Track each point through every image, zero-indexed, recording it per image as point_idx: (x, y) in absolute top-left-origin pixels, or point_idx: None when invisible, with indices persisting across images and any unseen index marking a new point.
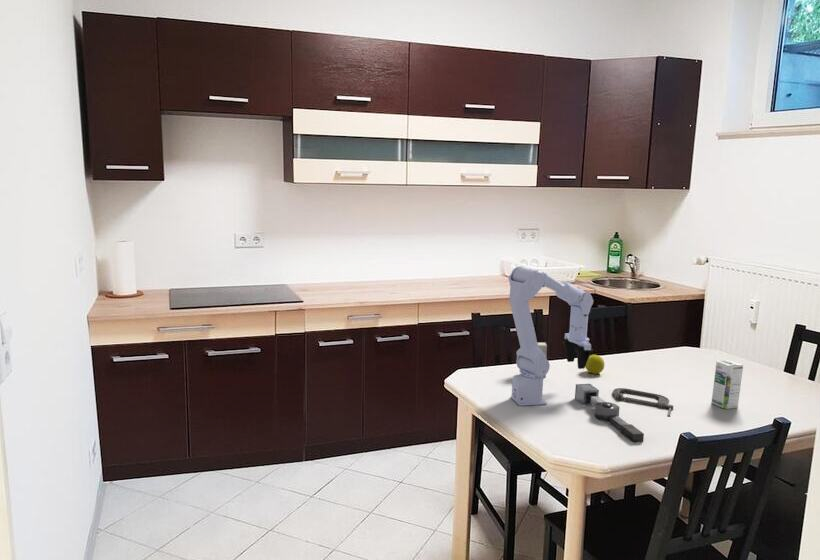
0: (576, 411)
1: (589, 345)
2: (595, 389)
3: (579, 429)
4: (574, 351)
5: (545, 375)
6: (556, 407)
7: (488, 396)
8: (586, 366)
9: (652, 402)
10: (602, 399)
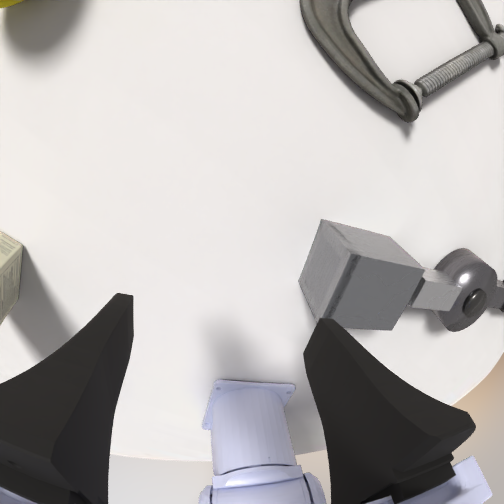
0: (379, 334)
1: (477, 496)
2: (413, 280)
3: (432, 367)
4: (100, 365)
5: (19, 251)
6: None
7: (181, 446)
8: (2, 6)
9: (484, 55)
10: (448, 285)
